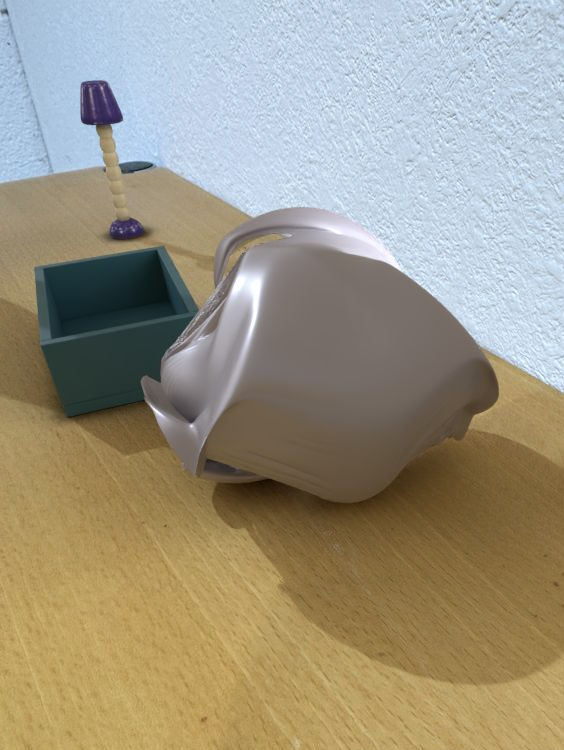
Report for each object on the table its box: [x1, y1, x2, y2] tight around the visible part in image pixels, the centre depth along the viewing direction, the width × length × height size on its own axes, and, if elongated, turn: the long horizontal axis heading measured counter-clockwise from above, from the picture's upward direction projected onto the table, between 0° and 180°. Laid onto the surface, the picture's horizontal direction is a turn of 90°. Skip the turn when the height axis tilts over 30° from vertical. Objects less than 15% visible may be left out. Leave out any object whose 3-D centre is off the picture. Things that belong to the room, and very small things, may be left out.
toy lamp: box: [79, 79, 146, 240], centre depth 83 cm, size 5×5×17 cm
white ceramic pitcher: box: [141, 206, 500, 504], centre depth 43 cm, size 20×18×15 cm
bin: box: [33, 245, 200, 418], centre depth 59 cm, size 18×12×6 cm, turn 23°
